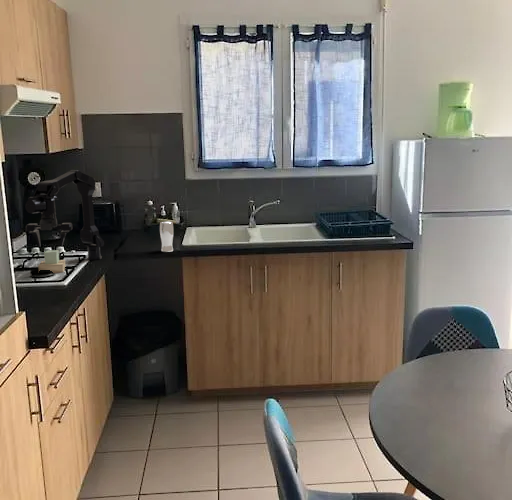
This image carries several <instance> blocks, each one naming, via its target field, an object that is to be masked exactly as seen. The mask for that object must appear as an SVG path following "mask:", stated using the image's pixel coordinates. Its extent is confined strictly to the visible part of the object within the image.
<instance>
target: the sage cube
mask: <svg viewBox="0 0 512 500" xmlns="http://www.w3.org/2000/svg"><path fill="white" fill-rule="evenodd" d="M59 251H60V250H58V249H56V250H55V249H53V250H45V252H44V253H43V255H44V256H43V257H44V261H45V264H57V263H58V262H59V260H60V252H59Z"/></svg>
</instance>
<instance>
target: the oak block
mask: <svg viewBox="0 0 512 500" xmlns="http://www.w3.org/2000/svg"><path fill="white" fill-rule="evenodd" d="M37 266H38V272H39V271H40V270H50V271H52V272H53V273H64V272H65V270H66V268H65V267H66V259H59V262H58V263H57V264H45V260H41V261H40V262H39V264H38V265H37ZM53 273H52V274H53Z"/></svg>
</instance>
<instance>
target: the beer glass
mask: <svg viewBox="0 0 512 500" xmlns="http://www.w3.org/2000/svg"><path fill="white" fill-rule="evenodd" d="M159 234H160V241H161V252H162V253H170V252H173V251H174V248H173V240H174V223H173V221H160V222H159Z"/></svg>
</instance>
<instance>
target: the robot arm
mask: <svg viewBox="0 0 512 500" xmlns="http://www.w3.org/2000/svg"><path fill="white" fill-rule="evenodd" d="M71 183H73V184H74V185H76V189H77V191H78V193H79V194H80V196H81V206H82V218H83V220H82V221H83V227H82V229H80V230H79V236H80V237H79V238H80V239H81V242H82V245H83V247H87V257H88V258H87V257H86V260H87V259H88V260H89V261H91V260H95V261H96V260H101V259H102V257H103V256H102V255H101V247H104V245H105V241H104V240H103V238H102V237H101V235H100V231H99V229H98V227H97V226H96V224H95V213H94V212H95V211H94V199H93V195H94V193H95V191H96V179H95V178H94V177H93V176H90V175H88V174H85V173H84V172H82V171H80V170H77V169H76V170H75V169H71V170H68V171H67V172H65V173H64V174H61V175H59V176H58V177H56V178H53V179H50V180H49V179H48V180H44V181H40V182H39V183H37V186H36V189H35V190H34V191H35V192H34V193H33V196H30V197H27V198H28V199H27V201H26V202H25V205H24V207H25V211H26V212H27V213H28V214H39V213H41V215H40V216H41V218H40V221H39V223H28V224H26V225H25V232H28V233H29V234H32V236H33V237H34V239H35V241H36V243H37V246H38V247H39V248H41V246H42V245H41V235H40V231H53V230H61V231H60V247H63V245H64V242H65V238H66V236H67V234H68V233H69V232H70V231H72V230H73V229H74V228H73V223H72V222H62V223H61V224H58V219H57V216H56V215H57V213H56V201H58V200H59V198H58V196H56V195H57V194H58V192H60V189H61V188H63V187H65V186H67V185H69V184H71ZM38 224H39V225H38Z"/></svg>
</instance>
